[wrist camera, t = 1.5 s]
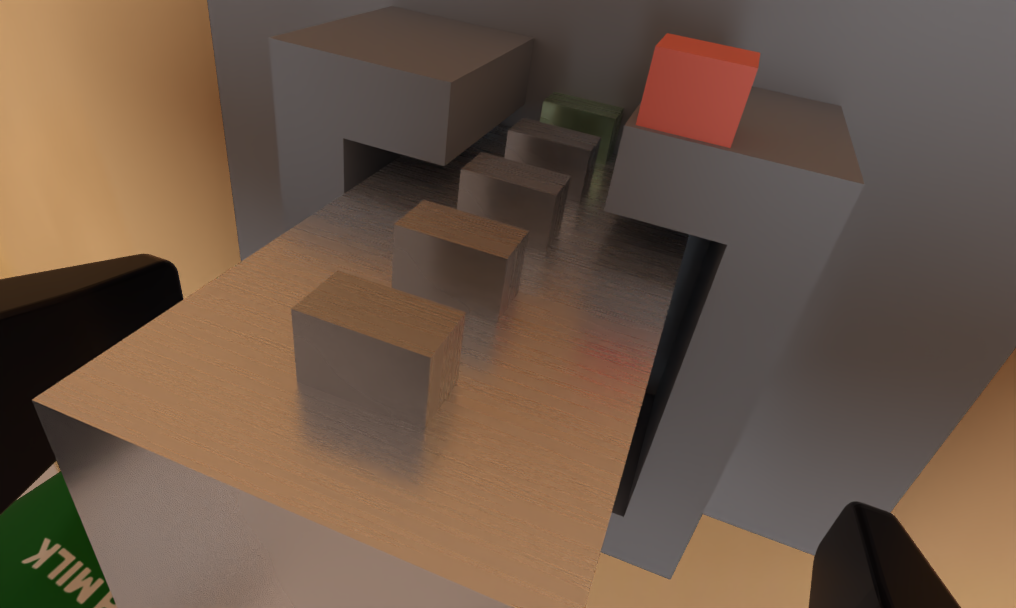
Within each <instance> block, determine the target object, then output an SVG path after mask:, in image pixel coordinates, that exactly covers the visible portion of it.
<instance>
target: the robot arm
mask: <svg viewBox="0 0 1016 608" xmlns="http://www.w3.org/2000/svg"><path fill="white" fill-rule="evenodd" d="M182 300H183V295H182V290H181V285H180V280H179V275H178V271H177V268H176V267H175V265H174V264H173V263H171V262H170V261H168V260H165V259H162V258H159V257H156V256H153V255H149V254H138V255H132V256H127V257H121V258H116V259H110V260H105V261H99V262H94V263H88V264H83V265H77V266H72V267H66V268H61V269H55V270H50V271H44V272H39V273H33V274H28V275H22V276H16V277H11V278H5V279H0V515H1V514H2V513H3V512H4V511H5V510H6V509H7V508H8V507H9V506H10V505H11V504H12V503H13V502H14V501H15V500H16V499H17V498H19V497H20V496H21V495H22V494H23V493H24V492H25V491H26V490H27V489H28V488H29V487H30V486H31V485H32V484H33V483H34V482H35V481H36V480H37V479H38V478H39V477H40V476H41V475H42V474H43V473H44V472H45V471H46V470H47V469H48V468H49V467H50V466H51V465H52V464H53V463H54V462H56V461H57V460H56V458H55V455H54V453H53V451H52V448H51V446H50V443H49V441H48V438H47V436H46V434H45V431H44V429H43V426H42V424H41V421H40V419H39V417H38V414H37V412H36V409H35V407H34V404H33V402H32V399H34V398H35V397H37V396H38V395H40V394H41V393H43V392H44V391H46V390H47V389H49V388H50V387H52V386H53V385H55V384H56V383H58V382H60V381H61V380H63V379H64V378H66V377H67V376H69V375H70V374H72V373H73V372H75V371H76V370H78V369H79V368H81V367H82V366H84V365H85V364H87V363H88V362H90V361H91V360H93V359H94V358H96V357H97V356H99V355H100V354H102V353H103V352H105V351H106V350H108V349H110V348H111V347H113V346H114V345H116V344H117V343H119V342H120V341H122V340H123V339H125V338H126V337H128V336H129V335H131V334H132V333H134V332H135V331H137V330H138V329H140V328H141V327H143V326H144V325H146V324H147V323H149V322H150V321H152V320H153V319H155V318H156V317H158V316H160V315H161V314H163V313H164V312H166V311H167V310H169V309H170V308H172V307H173V306H175V305H176V304H178V303H179V302H181V301H182ZM809 608H961V607H960V606H959V604H958V603H957V601H956V600H955V599H954V597H953V596H952V594H951V593H950V592H949V590H948V589H947V587H946V586H945V585H944V583H943V582H942V580H941V579H940V578H939V576H938V575H937V574H936V572H935V571H934V569H933V568H932V567H931V565H930V564H929V562H928V561H927V560H926V558H925V557H924V555H923V554H922V553H921V551H920V550H919V548H918V547H917V546H916V544H915V543H914V541H913V540H912V539H911V537H910V536H909V534H908V533H907V532H906V530H905V529H904V527H903V526H902V525H901V523H900V522H899V521H898V519H897V518H896V517H895V516H894V515H893V514H891V513H889V512H887V511H885V510H882V509H879V508H876V507H873V506H870V505H868V504H865V503H862V502H858V501H853V502H850V503H849V504H847V505H846V506H845V507H844V509H843V510H842V511H841V513H840V514H839V516H838V517H837V519H836V520H835V522H834V523H833V525H832V526H831V527H830V529H829V530H828V532H827V533H826V535H825V536H824V538H823V539H822V541H821V542H820V544H819V546H818V548H817V550H816V553H815V557H814V562H813V570H812V580H811V590H810V600H809Z"/></svg>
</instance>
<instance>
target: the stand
mask: <svg viewBox="0 0 1016 608" xmlns="http://www.w3.org/2000/svg"><path fill="white" fill-rule="evenodd" d="M207 3H208V10H209V18H210V26H211V33H212V41H213V49H214V57H215V64H216V72H217V80H218V87H219V95H220V103H221V111H222V118H223V126H224V134H225V141H226V149H227V157H228V165H229V172H230V180H231V188H232V195H233V203H234V211H235V219H236V226H237V234H238V242H239V249H240V257H241V261H243V260H244V259H246V258H247V257H249V256H250V255H252V254H253V253H255V252H256V251H258V250H260V249H261V248H263V247H264V246H266V245H267V244H269V243H270V242H272V241H273V240H275V239H276V238H278V237H279V236H281V235H282V234H284V233H285V232H287V231H288V230H290V229H291V228H293V227H294V226H296V225H297V224H299V223H300V222H302V221H303V220H305V219H306V218H308V217H310V216H311V215H313V214H314V213H316V212H317V211H319V210H320V209H322V208H323V207H325V206H326V205H328V204H329V203H331V202H332V201H334V200H335V199H337V198H338V197H340V196H341V195H343V194H344V193H346V192H347V191H349V190H350V189H352V188H353V187H355V186H356V185H358V184H360V183H361V182H363V181H364V180H366V179H367V178H369V177H370V176H372V175H373V174H375V173H376V172H378V171H379V170H381V169H382V168H384V167H385V166H387V165H388V164H390V163H391V162H393V161H394V160H396V159H397V158H399V157H400V156H402V155H405V156H409V157H413V158H416V159H420V160H423V161H427V162H431V163H434V164H438V165H441V166H446V165H447V164H448V163H449V162H451V161H452V160H453V159H455V158H456V157H457V156H458V155H460V154H461V153H462V152H464V151H465V150H466V149H467V148H469V147H470V146H471V145H473V144H474V143H475V142H476V141H478V140H479V139H480V138H482V137H483V136H484V135H486V134H487V133H488V132H489V131H491V130H492V129H493V128H495V127H496V126H497V125H500V126H504V127H508V128H511V127H512V126H514V125H515V124H516V123H517V122H518V121H520V120H521V119H522V118H527V119H531V120H535V121H539V122H540V117H541V111H542V105H543V101H544V100H545V99H546V98H548V97H549V96H550V95H551V94H552V93H554V92H558V93H562V94H567V95H571V96H575V97H579V98H583V99H587V100H592V101H596V102H600V103H604V104H608V105H612V106H616V107H621V108H624V110H623V114H622V118H621V122H620V126H619V131H618V135H617V139H616V143H615V147H614V152H613V155H616V156H617V158H616V163H615V167H614V171H613V175H612V179H611V183H610V187H609V191H608V196H607V200H606V204H605V208H604V211H607V212H610V213H614V214H618V215H621V216H625V217H628V218H632V219H636V220H639V221H643V222H646V223H650V224H654V225H657V226H661V227H664V228H668V229H672V230H675V231H679V232H682V233H686V234H689V237H688V240H687V244H686V248H685V251H684V255H683V258H682V262H681V265H680V269H679V273H678V276H677V280H676V283H675V287H674V291H673V294H672V298H671V301H670V305H669V308H668V312H667V316H666V319H665V323H664V326H663V330H662V334H661V337H660V341H659V344H658V348H657V351H656V355H655V359H654V362H653V366H652V369H651V373H650V377H649V380H648V384H647V387H646V391H645V394H644V398H643V402H642V405H641V409H640V412H639V416H638V419H637V423H636V427H635V430H634V434H633V437H632V441H631V445H630V448H629V452H628V455H627V459H626V462H625V466H624V470H623V473H622V477H621V480H620V484H619V488H618V491H617V495H616V498H615V502H614V505H613V509H612V513H611V516H610V520H609V523H608V527H607V531H606V534H605V538H604V541H603V545H602V548H601V552H602V553H604V554H607V555H609V556H612V557H615V558H617V559H620V560H622V561H625V562H627V563H630V564H632V565H635V566H637V567H640V568H642V569H645V570H647V571H650V572H652V573H655V574H657V575H660V576H662V577H665V578H667V579H671V577H672V575H673V573H674V571H675V569H676V567H677V565H678V563H679V561H680V559H681V557H682V555H683V553H684V551H685V549H686V547H687V545H688V543H689V541H690V539H691V537H692V535H693V533H694V531H695V529H696V527H697V524H698V522H699V520H700V518H701V516H702V514H704V515H707V516H709V517H712V518H715V519H717V520H720V521H723V522H725V523H728V524H731V525H734V526H736V527H739V528H742V529H744V530H747V531H750V532H752V533H755V534H758V535H760V536H763V537H766V538H768V539H771V540H774V541H777V542H779V543H782V544H785V545H787V546H790V547H793V548H795V549H798V550H801V551H803V552H806V553H809V554H812V555H814V556H815V553H816V550H817V548H818V546H819V544H820V542H821V541H822V539H823V538H824V536H825V535H826V533H827V532H828V530H829V529H830V527H831V526H832V525H833V523H834V522H835V520H836V519H837V517H838V516H839V514H840V513H841V511H842V510H843V509H844V507H845V506H846V505H847V504H849V503H850V502H853V501H858V502H862V503H865V504H868V505H870V506H873V507H876V508H879V509H882V510H885V511H887V512H889V513H890V512H891V511H892V510H893V508H894V507H895V506H896V504H897V503H898V502H899V500H900V499H901V498H902V496H903V495H904V494H905V493H906V491H907V490H908V489H909V487H910V486H911V485H912V483H913V482H914V481H915V479H916V478H917V477H918V475H919V474H920V473H921V472H922V470H923V469H924V468H925V466H926V465H927V464H928V462H929V461H930V460H931V458H932V457H933V456H934V454H935V453H936V452H937V451H938V449H939V448H940V447H941V445H942V444H943V443H944V441H945V440H946V439H947V437H948V436H949V435H950V433H951V432H952V431H953V430H954V428H955V427H956V426H957V424H958V423H959V422H960V420H961V419H962V418H963V416H964V415H965V414H966V412H967V411H968V410H969V409H970V407H971V406H972V405H973V403H974V402H975V401H976V399H977V398H978V397H979V395H980V394H981V393H982V391H983V390H984V389H985V388H986V386H987V385H988V384H989V382H990V381H991V380H992V378H993V377H994V376H995V374H996V373H997V372H998V370H999V369H1000V368H1001V367H1002V365H1003V364H1004V363H1005V361H1006V360H1007V359H1008V357H1009V356H1010V355H1011V353H1012V352H1013V351H1014V349H1015V348H1016V0H207Z"/></svg>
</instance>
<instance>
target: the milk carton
mask: <svg viewBox="0 0 1016 608" xmlns="http://www.w3.org/2000/svg"><path fill="white" fill-rule="evenodd" d="M0 608H117V606H116V603H115V601H114V598H113V596H112V594H111V591H110V589H109V586H108V584H107V582H106V579H105V577H104V574H103V572H102V569H101V567H100V565H99V562H98V560H97V557H96V555H95V552H94V550H93V548H92V545H91V543H90V540H89V538H88V535H87V533H86V531H85V528H84V526H83V523H82V521H81V518H80V516H79V514H78V511H77V509H76V506H75V504H74V501H73V499H72V497H71V494H70V492H69V489H68V487H67V485H66V482H65V480H64V477H63V475H62V472H59V473H57V474H56V475H54V476H53V477H51V478H50V479H48V480H47V481H45V482H44V483H42V484H41V485H39V486H38V487H36V488H35V489H33V490H32V491H30V492H29V493H27V494H25V495H24V496H22V497H21V498H19V499H18V500H16V501H14V502H13V503H12V504H11V505H10V506H9V507H8V508H7V509H6V510H5V511H4V512H3V513H2V514H1V515H0Z"/></svg>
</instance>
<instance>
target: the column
mask: <svg viewBox="0 0 1016 608" xmlns="http://www.w3.org/2000/svg"><path fill="white" fill-rule="evenodd" d="M623 110H624V108H621V107H616V106H612V105H608V104H604V103H600V102H596V101H592V100H587V99H583V98H579V97H575V96H571V95H567V94H562V93H558V92H554V93H552V94H551V95H550V96H549V97H548V98H546V99H545V100H544V101H543V105H542V111H541V117H540V122H539V121H535V120H531V119H527V118H522V119H521V120H520V121H518V122H517V123H516V124H515V125H514V126H512V127H511V128H508V127H504V126H500V125H497V126H496V127H495V128H493V129H492V130H491V131H489V132H488V133H487V134H486V135H484V136H483V137H482V138H480V139H479V140H478V141H476V142H475V143H474V144H473V145H471V146H470V147H469V148H467V149H466V150H465V151H464V152H462V153H461V154H460V155H458V156H457V157H456V158H455V159H453V160H452V161H451V162H449V163H448V164H447V165H446V166H441V165H438V164H434V163H431V162H427V161H423V160H420V159H416V158H413V157H409V156H405V155H402V156H400V157H399V158H397V159H396V160H394V161H393V162H391V163H390V164H388V165H387V166H385V167H384V168H382V169H381V170H379V171H378V172H376V173H375V174H373V175H372V176H370V177H369V178H367V179H366V180H364V181H363V182H361V183H360V184H358V185H356V186H355V187H353V188H352V189H350V190H349V191H347V192H346V193H344V194H343V195H341V196H340V197H338V198H337V199H335V200H334V201H332V202H331V203H329V204H328V205H326V206H325V207H323V208H322V209H320V210H319V211H317V212H316V213H314V214H313V215H311V216H310V217H308V218H306V219H305V220H303V221H302V222H300V223H299V224H297V225H296V226H294V227H293V228H291V229H290V230H288V231H287V232H285V233H284V234H282V235H281V236H279V237H278V238H276V239H275V240H273V241H272V242H270V243H269V244H267V245H266V246H264V247H263V248H261V249H260V250H258V251H256V252H255V253H253V254H252V255H250V256H249V257H247V258H246V259H244V260H243V261H241V262H240V263H238V264H237V265H235V266H234V267H232V268H231V269H229V270H228V271H226V272H225V273H223V274H222V275H220V276H219V277H217V278H216V279H214V280H213V281H211V282H210V283H208V284H206V285H205V286H203V287H202V288H200V289H199V290H197V291H196V292H194V293H193V294H191V295H190V296H188V297H187V298H185V299H184V300H182V301H181V302H179V303H178V304H176V305H175V306H173V307H172V308H170V309H169V310H167V311H166V312H164V313H163V314H161V315H160V316H158V317H156V318H155V319H153V320H152V321H150V322H149V323H147V324H146V325H144V326H143V327H141V328H140V329H138V330H137V331H135V332H134V333H132V334H131V335H129V336H128V337H126V338H125V339H123V340H122V341H120V342H119V343H117V344H116V345H114V346H113V347H111V348H110V349H108V350H106V351H105V352H103V353H102V354H100V355H99V356H97V357H96V358H94V359H93V360H91V361H90V362H88V363H87V364H85V365H84V366H82V367H81V368H79V369H78V370H76V371H75V372H73V373H72V374H70V375H69V376H67V377H66V378H64V379H63V380H61V381H60V382H58V383H56V384H55V385H53V386H52V387H50V388H49V389H47V390H46V391H44V392H43V393H41V394H40V395H38V396H37V397H35V398H34V399H32V402H33V404H34V407H35V409H36V412H37V414H38V417H39V419H40V421H41V424H42V426H43V429H44V431H45V434H46V436H47V438H48V441H49V443H50V446H51V448H52V451H53V453H54V455H55V458H56V460H57V463H58V465H59V468H60V470H61V472H62V475H63V477H64V480H65V482H66V485H67V487H68V489H69V492H70V494H71V497H72V499H73V501H74V504H75V506H76V509H77V511H78V514H79V516H80V518H81V521H82V523H83V526H84V528H85V531H86V533H87V535H88V538H89V540H90V543H91V545H92V548H93V550H94V552H95V555H96V557H97V560H98V562H99V565H100V567H101V569H102V572H103V574H104V577H105V579H106V582H107V584H108V586H109V589H110V591H111V594H112V596H113V598H114V601H115V603H116V606H117V608H585V606H586V602H587V599H588V595H589V591H590V588H591V584H592V581H593V577H594V573H595V570H596V566H597V563H598V559H599V556H600V552H601V548H602V545H603V541H604V538H605V534H606V531H607V527H608V523H609V520H610V516H611V513H612V509H613V505H614V502H615V498H616V495H617V491H618V488H619V484H620V480H621V477H622V473H623V470H624V466H625V462H626V459H627V455H628V452H629V448H630V445H631V441H632V437H633V434H634V430H635V427H636V423H637V419H638V416H639V412H640V409H641V405H642V402H643V398H644V394H645V391H646V387H647V384H648V380H649V377H650V373H651V369H652V366H653V362H654V359H655V355H656V351H657V348H658V344H659V341H660V337H661V334H662V330H663V326H664V323H665V319H666V316H667V312H668V308H669V305H670V301H671V298H672V294H673V291H674V287H675V283H676V280H677V276H678V273H679V269H680V265H681V262H682V258H683V255H684V251H685V248H686V244H687V240H688V237H689V234H686V233H682V232H679V231H675V230H672V229H668V228H664V227H661V226H657V225H654V224H650V223H646V222H643V221H639V220H636V219H632V218H628V217H625V216H621V215H618V214H614V213H610V212H607V211H604V208H605V204H606V200H607V196H608V191H609V187H610V183H611V179H612V175H613V171H614V167H615V163H616V158H617V156H616V155H613V152H614V147H615V143H616V139H617V135H618V131H619V126H620V122H621V118H622V114H623Z"/></svg>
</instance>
